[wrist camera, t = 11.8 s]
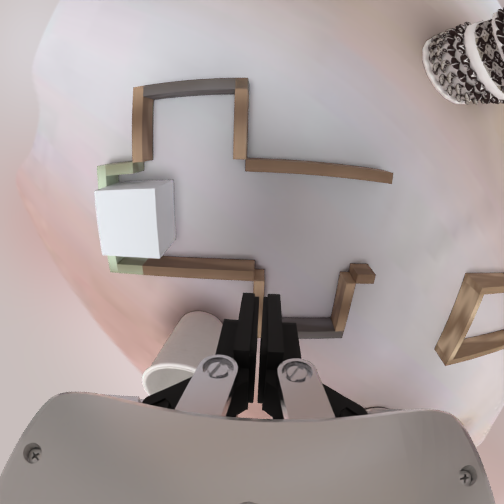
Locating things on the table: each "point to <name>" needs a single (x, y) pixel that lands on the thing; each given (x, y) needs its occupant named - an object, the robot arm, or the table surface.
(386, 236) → the table surface
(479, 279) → the rectangular wooden frame
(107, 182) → the zigzag wooden frame
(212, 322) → the dixie cup
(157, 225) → the block
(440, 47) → the white patterned cylinder
